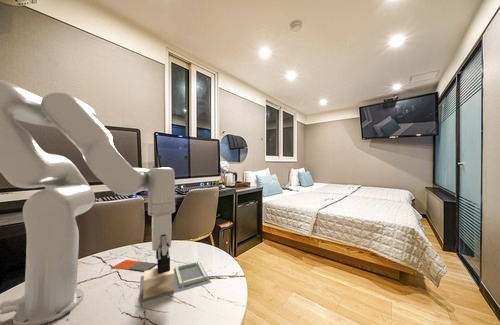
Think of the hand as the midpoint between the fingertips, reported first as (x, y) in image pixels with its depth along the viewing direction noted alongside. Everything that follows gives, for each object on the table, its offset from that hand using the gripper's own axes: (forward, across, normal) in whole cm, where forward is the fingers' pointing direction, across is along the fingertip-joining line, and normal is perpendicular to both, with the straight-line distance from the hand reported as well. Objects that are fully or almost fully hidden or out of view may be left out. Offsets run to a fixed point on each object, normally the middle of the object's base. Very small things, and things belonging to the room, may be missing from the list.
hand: (162, 264), depth 57 cm
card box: (+7, 0, -1) cm, 7 cm away
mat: (+8, -3, +4) cm, 9 cm away
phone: (+8, -19, -8) cm, 22 cm away
